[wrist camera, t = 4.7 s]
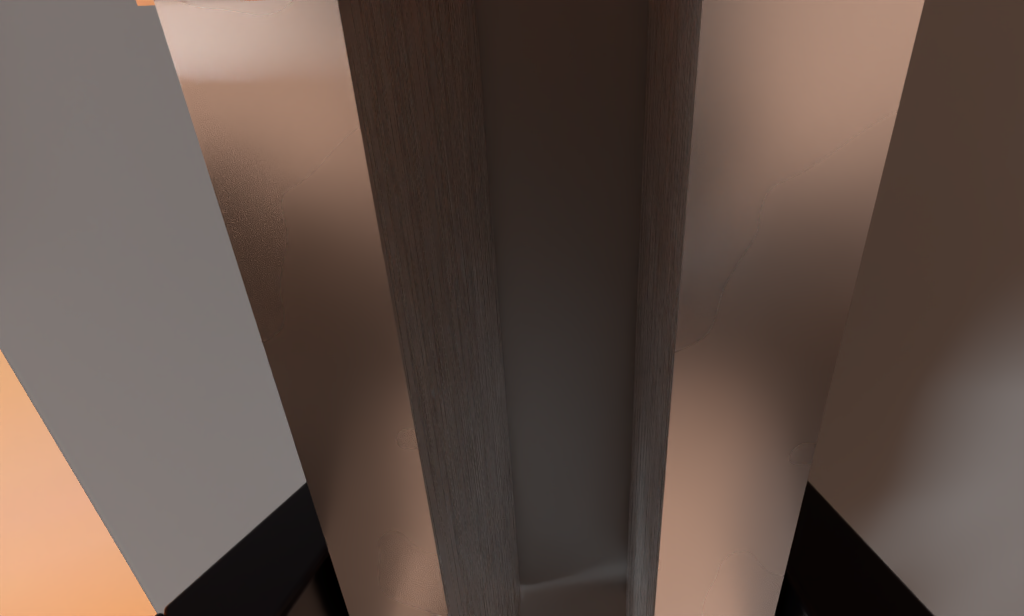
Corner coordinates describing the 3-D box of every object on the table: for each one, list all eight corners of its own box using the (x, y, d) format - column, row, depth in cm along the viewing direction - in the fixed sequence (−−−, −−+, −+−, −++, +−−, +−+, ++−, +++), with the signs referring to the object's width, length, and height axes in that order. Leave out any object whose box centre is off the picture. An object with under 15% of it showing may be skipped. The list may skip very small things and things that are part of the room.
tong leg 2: (526, 596, 12) (498, 855, 9) (464, 592, 13) (415, 843, 9) (450, -498, 5) (144, -1284, 2) (303, -478, 5) (-249, -1160, 2)
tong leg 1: (685, 608, 12) (717, 882, 9) (620, 603, 12) (627, 871, 9) (824, -559, 5) (1397, -1722, 1) (655, -529, 5) (771, -1492, 1)
